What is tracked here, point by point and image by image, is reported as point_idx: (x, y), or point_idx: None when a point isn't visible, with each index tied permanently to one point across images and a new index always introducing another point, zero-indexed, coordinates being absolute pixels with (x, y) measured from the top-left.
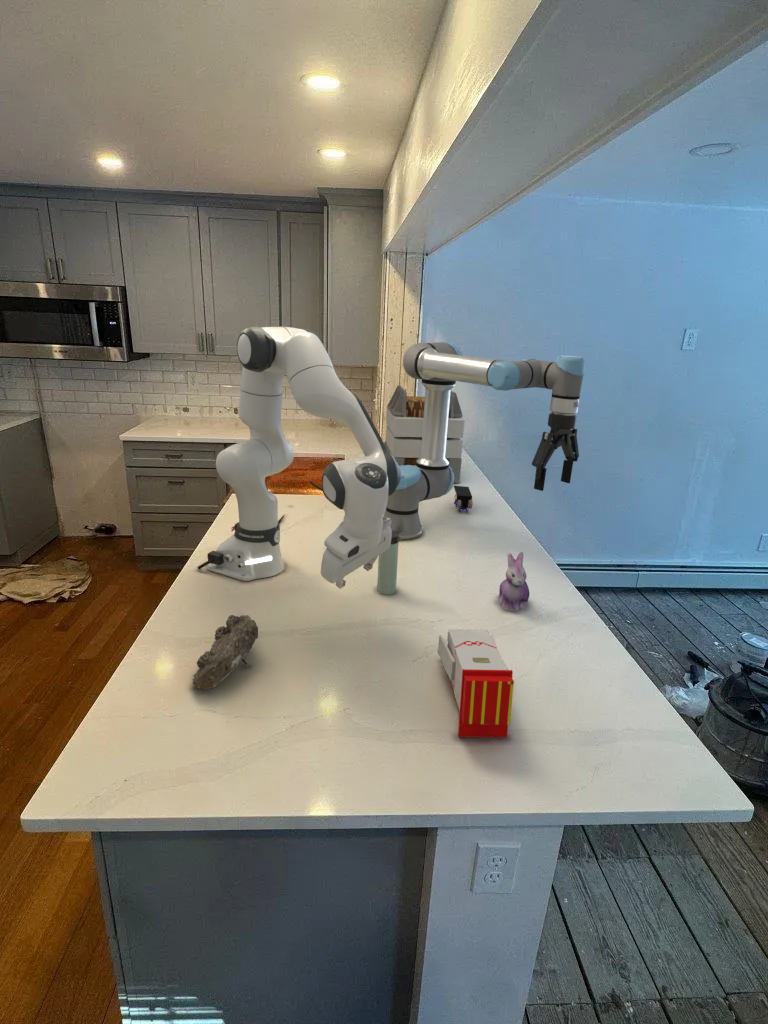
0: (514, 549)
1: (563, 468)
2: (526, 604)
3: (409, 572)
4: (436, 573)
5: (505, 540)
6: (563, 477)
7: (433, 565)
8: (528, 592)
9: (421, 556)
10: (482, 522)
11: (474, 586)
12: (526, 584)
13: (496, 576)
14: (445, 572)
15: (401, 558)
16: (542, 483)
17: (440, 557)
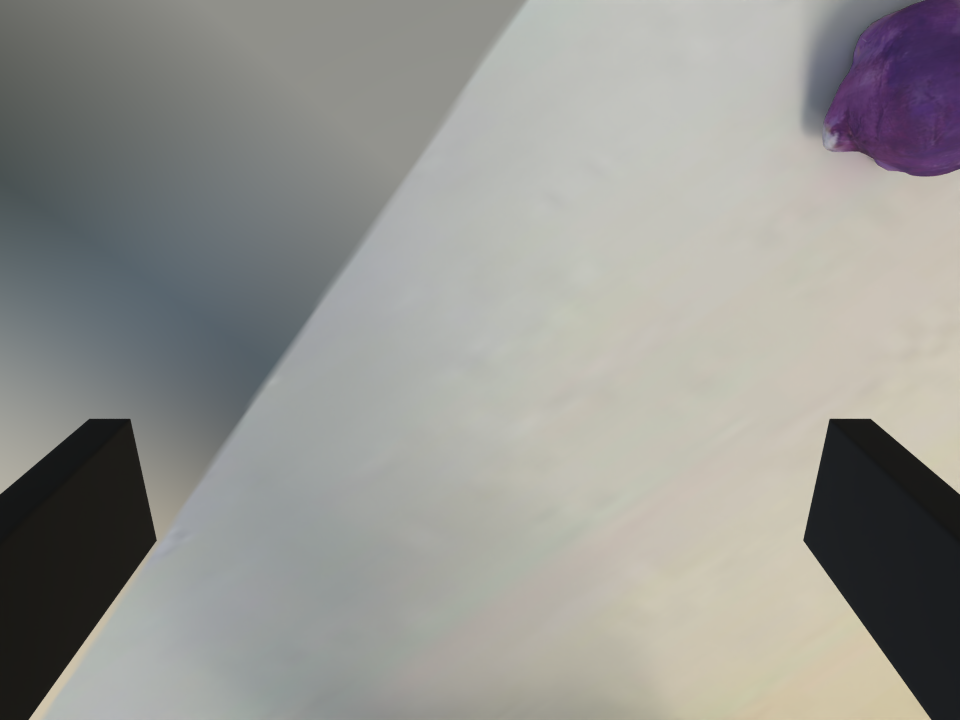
0: (354, 456)
1: (27, 699)
2: (894, 12)
3: None
4: None
5: (305, 540)
6: (115, 552)
7: None
8: (940, 2)
9: (770, 622)
10: (236, 711)
11: (869, 312)
12: (936, 35)
13: (695, 319)
14: None
15: (849, 649)
16: (947, 490)
17: (717, 578)
